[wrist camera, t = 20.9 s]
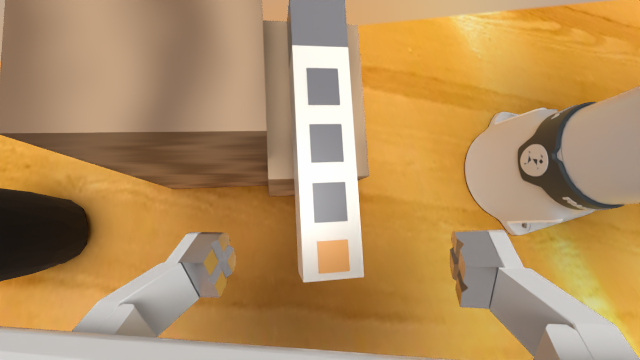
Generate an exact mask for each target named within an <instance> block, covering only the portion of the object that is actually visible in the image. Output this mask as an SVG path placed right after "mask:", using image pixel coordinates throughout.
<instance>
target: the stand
mask: <svg viewBox="0 0 640 360" xmlns="http://www.w3.org/2000/svg"><path fill="white" fill-rule="evenodd" d="M347 39H348V53H349V67H350V81H351V96H352V110H353V124H354V138H355V153H356V167H357V181H359V180H361V179H363V178H366V177H368V176H369V168H368V154H367V141H366V128H365V114H364V101H363V88H362V74H361V61H360V48H359V34H358V25H347ZM0 135H3V136H6V137H9V138H12V139H15V140H19V141H22V142H25V143H28V144H31V145H35V146H38V147H41V148H44V149H47V150H50V151H54V152H57V153H60V154H63V155H66V156H70V157H73V158H76V159H79V160H82V161H85V162H89V163H92V164H95V165H98V166H101V167H105V168H108V169H111V170H114V171H117V172H120V173H124V174H127V175H130V176H133V177H136V178H139V179H143V180H146V181H149V182H152V183H155V184H159V185H162V186H165V187H168V188H171V189H186V188H212V187H238V186H264V185H268V188H269V197H270V196H292V195H295V186H294V165H293V143H292V121H291V100H290V78H289V56H288V35H287V22H283V21H282V22H281V21H263V14H262V0H5V11H4V26H3V41H2V55H1V70H0Z"/></svg>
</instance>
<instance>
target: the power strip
mask: <svg viewBox="0 0 640 360" xmlns="http://www.w3.org/2000/svg"><path fill="white" fill-rule="evenodd" d="M287 35H288V56H289V78H290V100H291V121H292V143H293V165H294V186H295V208H296V230H297V251H298V273H299V275H300V277H301V279H302V281H303V282H315V281H326V280H337V279H348V278H359V277H364V267H363V252H362V238H361V224H360V210H359V195H358V181H357V167H356V153H355V138H354V124H353V110H352V96H351V81H350V67H349V53H348V39H347V24H346V10H345V0H289V6H288V17H287Z"/></svg>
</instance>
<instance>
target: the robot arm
mask: <svg viewBox="0 0 640 360" xmlns="http://www.w3.org/2000/svg"><path fill="white" fill-rule="evenodd" d="M465 175H466V181H467V185H468V187H469V190H470V192H471V194H472V196H473V198H474V199H475V201H476V202H477V203H478V204H479V205H480V206H481V207H482V208H483V209H484V210H485V211H486V212H488V213H489V214H491V215H492V216H494V217H495V218H497V219H498V220H499V221H500V222H501V223H502V225H503V226H504V228H505V229H506V230H507V231H508V232H509V233H510V234H511V235H514V236H517V235H523V234H526V233H530V232H533V231H536V230H539V229H542V228H546V227H549V226H552V225H555V224H558V223H562V222H565V221H568V220H571V219H575V218H578V217H581V216H584V215H587V214H590V213H592V212H594V211H595V210H606V209H612V208H618V207H621V206H624V205H626V204H640V86H637V87H635V88H633V89H630V90H628V91H625V92H623V93H621V94H618V95H615V96H613V97H610V98H608V99H605V100H602V101H600V102H588V103H584V104H581V105H575V106H571V107H568V108H566V109H563V110H561V111H559V112H558V110H557V109H549V110H548V109H546V108H538V109H535V110H532V111H529V112H526V113H523V114H520V115H519V114H514V113H509V112H500V113H497V114H495V115H494V117H493V118H492V120H491V122H490V125H489V127H488V128H487V129H486V130H485V131H484V132H483V133H481V134H480V135H479V136H478V137H477V138H476V139H475V140H474V141H473V143H472V144H471V146H470V148H469V150H468V153H467V156H466V161H465ZM522 224H523V227H522ZM451 241H452V245H453V248H452V249H450V268H451V273H452V277H453V279H454V280H456V293H457V297H458V300H459V304H460V307H470V308H485V309H490V311H491V312H492V313H493V314H494V315H495V316H496V317H497V319H498V320H499V321H500V322H501V323H502V324H503V325H504V326H505V327H506V328H507V329H508V330H509V331H510V332H511V333H512V334H513V335H514V336H515V337H516V338H517V339H518V340H519V342H520V343H521V344H522V345H523V346H524V347H525V348H526V349H527V350H528V351H529V352H530V353H531V354H532V355H533V356H534V359H533V360H640V359H639V358H638V356H637V355H636V353H635V352H634V351H633V349H632V348H631V346H630V345H629V343H628V342H627V340H626V339H625V338H624V336H623V335H622V333H621V332H620V330H619V329H618V328H617V326H616V325H614V324H613V323H611V322H610V321H608V320H607V319H605V318H604V317H602V316H601V315H599V314H598V313H596V312H595V311H593V310H592V309H590V308H589V307H587V306H586V305H584V304H583V303H581V302H580V301H578V300H577V299H575V298H574V297H572V296H571V295H569V294H568V293H566V292H565V291H563V290H562V289H560V288H559V287H557V286H556V285H554V284H553V283H551V282H550V281H548V280H547V279H545V278H544V277H542V276H541V275H540V274H538V273H537V272H535V271H534V270H532V269H531V268H524V266H523V264H522V262H521V260H520V258H519V256H518V254H517V253H516V251H515V249H514V247H513V245H512V243H511V241H510V239H509V237H508V235H507V234H506V232H505V231H504V230H469V231H453V232H452V237H451ZM229 242H230V238H229V236H228V234H226V233H218V232H201V233H200V232H190V233H188V234H186V235H185V237H184V238H183V239H182V241H181V242H180V243H179V245H178V246H177V247H176V248H175V250H174V251H173V252H172V254H171V255H170V256H169V258H168V259H167V260H166V262H165V263H160V264H158V265H156V266H155V267H153V268H152V269H150V270H148V271H147V272H145V273H143V274H142V275H140V276H138V277H137V278H135V279H134V280H132V281H130V282H129V283H127V284H125V285H124V286H122V287H121V288H119V289H117V290H116V291H114V292H112V293H111V294H109V295H107V296H106V297H104V298H103V299H101V300H99V301H98V302H97V303H96V304H95V305H94V307H93V308H92V309H91V310H90V311H89V312H88V313H87V314H86V316H85V317H84V318H83V319H82V320H81V321H80V322H79V324H78V325H77V326H76V327H75V328H74V329H73V330H72V332H71V331H57V330H43V329H29V328H16V327H2V326H0V360H455V359H441V358H428V357H414V356H400V355H386V354H372V353H358V352H344V351H330V350H317V349H303V348H290V347H276V346H263V345H249V344H235V343H222V342H208V341H194V340H181V339H167V338H157V337H158V336H159V335H160V334H161V333H162V332H163V331H164V330H165V329H166V328H167V327H169V326H170V325H171V324H172V323H173V322H174V321H175V320H176V319H177V318H178V317H180V316H181V315H182V314H183V313H184V312H185V311H186V310H187V309H188V308H189V307H191V306H192V305H193V304H194V303H195V302H196V301H197V300H198V299H199V297H221V295H222V293H223V291H224V289H225V287H226V285H227V279H226V278H227V277H228V276H229V275H230V274H232V273H233V270H234V268H235V265H236V253H235V251H234V249H233V248H232V247H231V246H230V245H228V244H229Z"/></svg>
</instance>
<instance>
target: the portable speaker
mask: <svg viewBox="0 0 640 360" xmlns="http://www.w3.org/2000/svg"><path fill="white" fill-rule="evenodd" d="M87 233H88V226H87V221H86V217H85V213H84V210H83V208H81V207H80V206H78V205H77V204H75V203H74V202H72V201H71V200H66V199H61V198H56V197H51V196H46V195H42V194H37V193H32V192H26V191H17V190H9V189H1V188H0V281H3V280H8V279H12V278H16V277H20V276H25V275H29V274H33V273H36V272H39V271H42V270H45V269H48V268H51V267H53V266H55V265H58V264H62V263H65V262H67V261H68V260H70V259H72V258H74V257H76V256H77V255H79V254H80V252H81V251H82V250H83V248H84V247H85V246H86V244H87V243H86V239H87Z"/></svg>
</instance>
